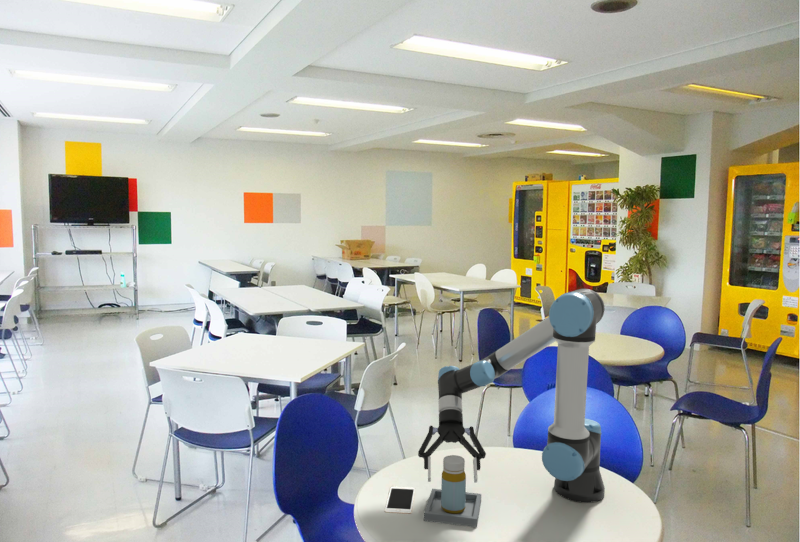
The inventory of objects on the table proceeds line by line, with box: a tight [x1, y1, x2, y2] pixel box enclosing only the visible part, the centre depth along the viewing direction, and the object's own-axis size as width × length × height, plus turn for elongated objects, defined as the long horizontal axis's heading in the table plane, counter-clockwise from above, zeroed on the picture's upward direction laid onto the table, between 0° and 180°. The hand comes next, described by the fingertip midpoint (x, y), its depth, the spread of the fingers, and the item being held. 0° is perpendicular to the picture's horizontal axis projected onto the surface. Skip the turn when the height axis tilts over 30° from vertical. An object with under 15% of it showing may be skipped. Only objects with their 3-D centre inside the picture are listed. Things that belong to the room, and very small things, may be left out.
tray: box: [423, 488, 482, 528], centre depth 170 cm, size 15×15×2 cm
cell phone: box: [384, 485, 416, 515], centre depth 177 cm, size 8×16×1 cm, turn 174°
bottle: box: [440, 454, 467, 514], centre depth 170 cm, size 7×7×15 cm
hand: (452, 480), depth 171 cm, fingers open, 13 cm apart
